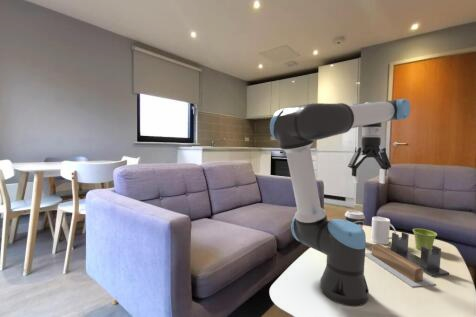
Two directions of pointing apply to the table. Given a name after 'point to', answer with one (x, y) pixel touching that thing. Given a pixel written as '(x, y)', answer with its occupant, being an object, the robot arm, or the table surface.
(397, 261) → the rail
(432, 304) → the table surface
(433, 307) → the table surface
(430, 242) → the plant pot
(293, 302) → the table surface
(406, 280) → the mat
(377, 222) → the mug
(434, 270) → the stand
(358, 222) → the coffee cup
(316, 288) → the table surface
